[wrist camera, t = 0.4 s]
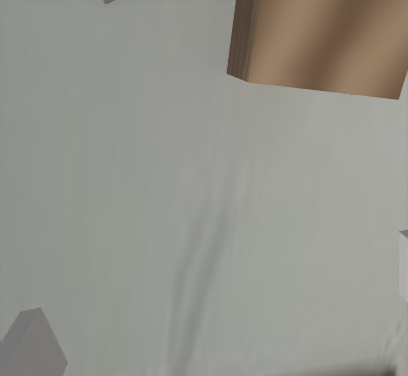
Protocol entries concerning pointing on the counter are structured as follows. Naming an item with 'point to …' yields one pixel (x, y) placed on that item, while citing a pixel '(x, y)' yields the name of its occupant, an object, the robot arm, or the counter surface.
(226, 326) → the counter surface
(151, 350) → the counter surface
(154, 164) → the counter surface
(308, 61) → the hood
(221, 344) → the counter surface
